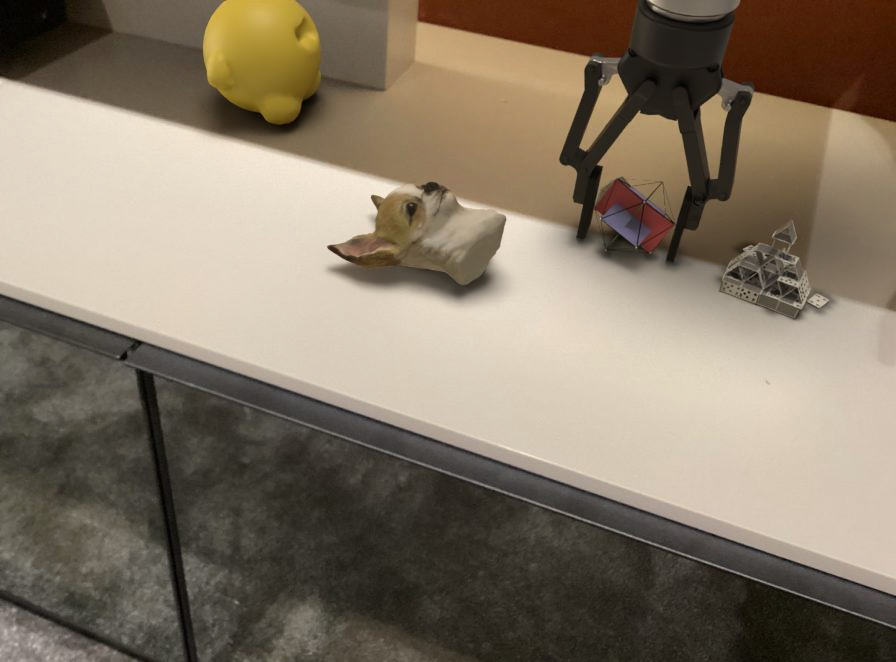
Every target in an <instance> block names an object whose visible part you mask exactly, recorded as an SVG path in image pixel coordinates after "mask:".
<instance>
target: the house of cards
mask: <svg viewBox="0 0 896 662" xmlns="http://www.w3.org/2000/svg"><path fill="white" fill-rule="evenodd" d="M785 229H787V230H788V233H786V232H784V230H785ZM771 238H772V239H773V241H772V244H771V246H770V245H768V244H765V243H762V242H758V244H756V245H755V246H753V245H752V244H750V245H748V246H746V247H744V248H742V250H743V252H742V253H741V254H739V255H738V256H736V257H735V258H731V260H730V262H729V263H728V265H727V266H726V267H725V272H724V274H723V275H722V276H723V277H722V278H721V281H722V282H721V283H720V284H721V285H720V287H719V290H718V292H723V293H725V294H727V295H730V296H733V297H736V298H738V299H741V300H744V301H747V302H749V303H752V304H754V305H758V306H761V307H763V308H766V309H769V310H772V311H774V312H776V313H778V314H780V315H781V314H782V315H784V316H787V317H790V318H791V319H796V317H797V316H798V313H799V312H800V310H801V311H803V309H804V308H805V306H806V303H809V304H810V305H812V306H814V307H816V308H818V309H821V308H822V307H823V306H825V304H827V303H828V302H830V299H828V298H826V297H824V296H823V295H822V294H819V293H815V294H814V295H812V296H811V297H810V298H809V297H808V296H809V294H810V292H811V289H812V286H810V282H809V278H808V273H807V270H805V269H803V267H802V264H801V260H800V257H798V256H796V255H793V254H790V253H789V251H790V248H791V247H792V246H793V245H794V244H795V242H796V240H797V238H798V237H797V233H796V229H795V225H794V221H793V219H790V220H789V221H788V222H786V223H785V224H784V225H782V226H781V227H779V228H778V229H775V231H774V232H773V234H772V236H771ZM776 240H778V241H781V242H784V243H786V244H789V245H788V247H787V250H786V247H783V248H781V249H779V248H777V247H774V246H775V243H776ZM766 255H769V256H766Z"/></svg>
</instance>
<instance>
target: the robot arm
mask: <svg viewBox="0 0 896 662" xmlns="http://www.w3.org/2000/svg"><path fill="white" fill-rule="evenodd" d="M740 3H741V0H638V1H637V4H636V8H635V13H634V17H633V23H632V27H631V31H630V36H629V41H628V46H627V49H626V50H625V51H624V52H623V54H622V55H621V56H620V57H605V55H604V53H602V52H599V51H595V52H593V53H592V54H591V56H590V58H589V59H588V61H587V63H586V64H585V66H584V70H583V79H584V80H583V82H584V84H583V86H584V87H583V88H584V90H583V92H582V95H581V97H580V101H579V104H578V106H577V109H576V111H575V114H574V117H573V119H572V122H571V125H570V128H569V130H568V133H567V136H566V138H565V141H564V144H563V147H562V150H561V152H560V154H559V157H558V158H559V159H558V161H559V163H560V164H561V165H562V166H566V167H568V166H570V167H572V169H574V171H575V172H576V178H575V183H574V188H573V193H572V201H573V203H574V204H577V205H578V204H579V205H582V208H581V213H580V218H579V223H578V227H577V232H576V238H575V239H577V240H580V241H585V239H586V236H587V234H588V232H589V229H590V227H591V225H592V220H593V216H594V212H595V210H594V209H593V208H594V207H595V204H596V201H597V198H598V194H599V193H598V192H599V187H600V183H601V178H602V174H603V170H604V166H603V165H600V164H599V163H600V162H601V160H602V159H603V158H604V156H605V155H606V154H607V152H608V151H609V150H610V149H611V147H612V146H613V144H614V143H615V142H616V141H617V140H618V138H619V136H620V135H621V134H622V133H623V131H624V130H625V129H626V127H627V126H628V125H629V124H630V123H631V122H632V121H633V120H634V118H635V117H636V116H637V115H638V113H639V114H641V115H646V116H660V117H662V118H664V119H666V120H669V121H674V122H677V125H678V132H679V134H680V135H681V139H682V145H683V150H684V155H685V161H686V167H687V173H688V177H689V183H690V185H687V187H686V190H685V193H684V195H683V200H682V203H681V206H680V209H679V213H678V217H677V219H676V223H675V224H676V225H674V230H673V234H672V237H671V241H670V244H669V246H668V247H669V248H668V250H667V254H666V258H665V262H670V263H675V259H676V257H677V253H678V249H679V247H680V243H681V240H682V236H683V233H684V230H689V231H693V232H695V231H696V230H697V229H698V228H699V226H700V223H701V220H702V216H703V212H704V211H705V210H704V209H705V206H706V204H707V203H708V202H709V201H712V200H718V201H719V202H727V201H729V200H730V198H731V195H732V192H733V187H734V184H735V177H736V171H737V164H738V163H737V162H738V155H739V149H740V148H739V147H740V141H741V134H742V133H741V132H742V127H743V126H742V125H743V119H744V116H746V113H747V111H748V109H749V107H750V106H751V103H752V100H753V97H754V92H755V88H756V87H755V85H754V83H753V82H751V81H743V82H742V83H738V82H735V81H733V80H730V79H728V78H726V77H725V74H724V71H723V61H724V58H725V54H726V52H727V47H728V45H729V41H730V40H729V39H730V37H731V34H732V31H733V27H734V24H735V20H736V14H735V12H734V10H736V9H737V8H738V7H739V5H740ZM614 75H618V77H619V79H620V81H621V83H622V85H623V87H624V89H625V92H626V93H627V95H626V97H625V98H624V100H623V102H622V103H621V105H620V106H619V107H618V108H617V110H616V111H615V113H614V114H613V115H612V116H611V118H610V119H609V120H608V122H607V123H606V124H605V126H604V127H603V129H602V130H601V131H600V132H599V134H598V135H597V137H596V138H595V139H594V140H593V141H592V143H591V144H590V146H589V147H588V149H586V150H584V149H582V148H581V147H580V146H581V143H582V141H583V138H584V135H585V133H586V131H587V127H588V125H589V122H590V120H591V117H592V115H593V112H594V110H595V107H596V104H597V102H598V99H599V97H600V95H601V92H602V89H603V87H604V86H607V85H608V84H609V83H610V82H611V80H612V78H613V76H614ZM716 95H719V96H720V97H721V103H720V105H721V108H722V110H723V111H724V112H726V113H727V114H726V116H725V121H724V126H723V132H722V141H721V149H720V158H719V165H718V174H717V178H712V177H711V173H710V166H709V161H708V154H707V148H706V142H705V137H704V136H705V135H704V131H703V125H702V111H701V107H702V106H703V105H704V104H706V103H707V102H708V101H709V100H711V99H712V98H713V97H714V96H716Z"/></svg>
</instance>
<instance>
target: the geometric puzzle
mask: <svg viewBox="0 0 896 662" xmlns="http://www.w3.org/2000/svg"><path fill="white" fill-rule="evenodd" d="M631 180H634V181H636V179H633V178H632V179H631ZM644 181H646V182H647V181H648V182H649V183H648V185H650V184H651V185H653V182H650V180H646V179H644ZM658 183H659V185H658V186H656V188H655V189H653V191H652V192H651V194H650V195H649V196H648V197H646V196H645V195H644V194H642V193H641V192H640V191H638V190H637V189H636V188H634V187H636V186H637V187H638V186H639V184H636V185H634V186H633V185H632V184H630V183H629V182H628V180H627V179H626V178H624V176H619V177H616V178H615V179H612V180H610V181H609V182H608V183H606V184H605V185H604V186H603V187H601V189H599V191H598V192H599V193H598V194H597V197H596V202H595V206H594V208H593V209H594V214H596V215H595V216H596V217H595V218H596V220H597V223H598V227H599V228H598V229H599V231H600V232H604V230H603V229H604V227H601V226H603V223H604V224H606V225H607V226H608V227H609V228H611V230H613V231H614V232H616V233H617V234H616V236H615V237H614V239H613V240H612V241H611V243H609V244H608V246H606V240H605V239H604V238H605V234H604V233H601V234H600V236H601V239H602V242H603V246H604V251H605V252H606V251H615V252H616V251H617V252H620V250H626V252H630V253H634V251H633V250H632V251H631V250H627V249H630V247H625V248H624V247H620V248H619V249H614V248H610V247H611V246H612V244H613V243H614V242H615V241H616V240H617V239H618V238H619V236H620V237H622V238H623V239H624V240H625V241H626V242H628V243H629V244H631V245H632V246H633V248H634V249H638V250H640V253H642V254H643V253H644V254H649V255H651V254H652V252H653V251H654V250H655V249H656V248H657V246H658V245H659V244H660V243H661V242H662V240H663V239H664V238H665V237H666V236H667V235H668V234H669V232H670V231H671V230H672V229H673V228H675V226H676V223H675V221H674V220H675V218H674V216H673V211H672V209H671V204H670V201H669V198H668V197H666V198H667V201H668V204H669V209H670V212H671V213H670V214H671V216H672V218H671V217H670V216H669V215H668V214H667V210H666V209H664V211H663V210H662V209H661V208H660V207H659V206H658V205H656V204H655V203H653V202H652V201H651V200H650V198H651V197H652V196H653V194H655V192H656V191H657V190H658V188H659V187H660V186H661V185H662V191H663V194H665V195H666V196H667V191H666V190H665V189H666V188H665V184H664V180H659V181H654V184H658ZM645 185H646V183H642V184H641V186H645ZM663 202H664V205H666V201H665V198H663ZM599 214H600V215H601V216H600V215H599ZM598 217H599V220H600V224H601V226H600V224H599V220H598ZM672 219H673V220H672ZM602 222H603V223H602ZM640 247H642V248H643V249H641V248H640Z"/></svg>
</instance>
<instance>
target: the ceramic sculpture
mask: <svg viewBox="0 0 896 662" xmlns="http://www.w3.org/2000/svg"><path fill="white" fill-rule="evenodd" d="M370 199H371V201H372V204H373V205H374V207H375V208H376V211H377V212H376V217H375V227H374V228H375V229H374V231H373V232H370V233H366V234H357V235H356V236H352V238H350V239H348V240H346V241H345V242H341V243H336V244H329V245H326V249H328V251H330V252H331V253H332V254H333V253H334V254H335V255H336V256H338V257H339V258H341V259H342V260H344V261H346V262H349V263H351V264H353V265H355V266H358V267H360V268H364V269H377V268H388V267H394V266H402V267H409V268H415V269H425V270H430V271H436V272H442V273H443V272H444V273H446V274H447V275H449V276H450V277H451V278H452V279H453V280H454V281H455V282H456V283H457V284H458V285H460V286H466V285H468V284H470V283H472V282H473V281H475V280H477V279H478V278H480V277H481V276H482V275H483V274H484V273H485V270H486V269H487V267H488V266H489V263H490V261H491V260H492V259H493V257H494V256H495V255H496V254H497V252H498V250H499V249H500V248H501V243H502V240H503V235H504V231H505V226H506V223H507V216H506V215H505V214H504V213H499V212H498V211H496V210H495V209H493V208H490V209H486V208H482V209H481V208H480V209H477V208H471V207H465V206H463V205H462V204H460V203H459V202H458V200H457V197H456V195H455V193H454V192H452V190H451V189H450V187H448V186H446V185H443V184H439V183H438V182H435V181H428V182H426V183H424V184H421V185H419V184H417V183H406V184H403V185H401V186H399V187H397V188H396V189H393V190H391V191H390V192H389V193H388V194H387V195H386V196H385V197H383V196H380V195H376V194H371V195H370Z"/></svg>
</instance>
